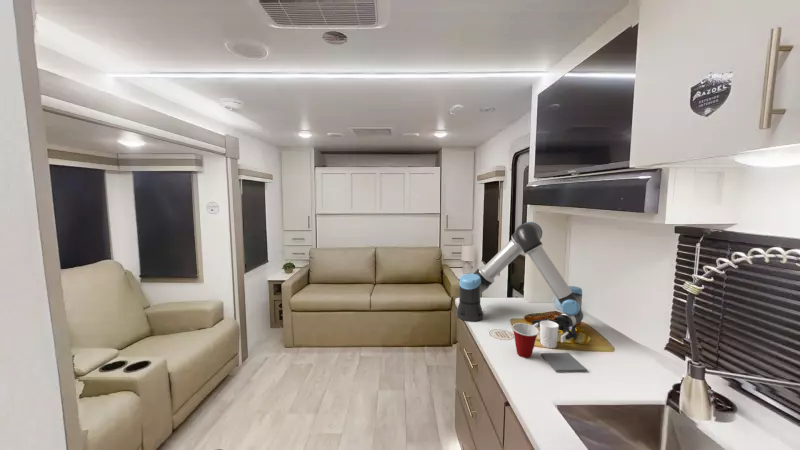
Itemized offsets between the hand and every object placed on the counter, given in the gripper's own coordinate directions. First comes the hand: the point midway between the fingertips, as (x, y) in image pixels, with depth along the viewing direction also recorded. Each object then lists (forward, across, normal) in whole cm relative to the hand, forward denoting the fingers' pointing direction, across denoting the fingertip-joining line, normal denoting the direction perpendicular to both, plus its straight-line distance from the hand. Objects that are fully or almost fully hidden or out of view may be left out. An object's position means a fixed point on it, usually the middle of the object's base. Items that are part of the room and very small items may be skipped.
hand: (545, 334), depth 141 cm
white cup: (-3, 0, +6) cm, 7 cm away
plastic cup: (+14, -3, +6) cm, 15 cm away
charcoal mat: (+9, +11, +6) cm, 15 cm away
